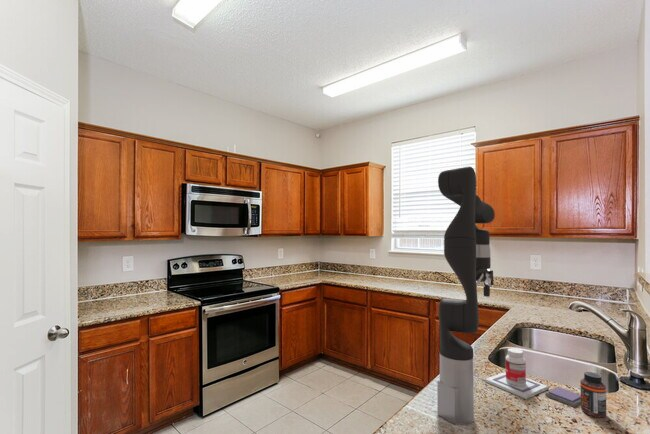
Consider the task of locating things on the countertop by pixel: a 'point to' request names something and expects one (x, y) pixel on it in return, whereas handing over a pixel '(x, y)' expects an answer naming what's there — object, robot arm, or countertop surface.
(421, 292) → the countertop surface
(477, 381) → the countertop surface
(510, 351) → the pill bottle
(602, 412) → the supplement bottle
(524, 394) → the board
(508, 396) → the countertop surface
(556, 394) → the ink pad
